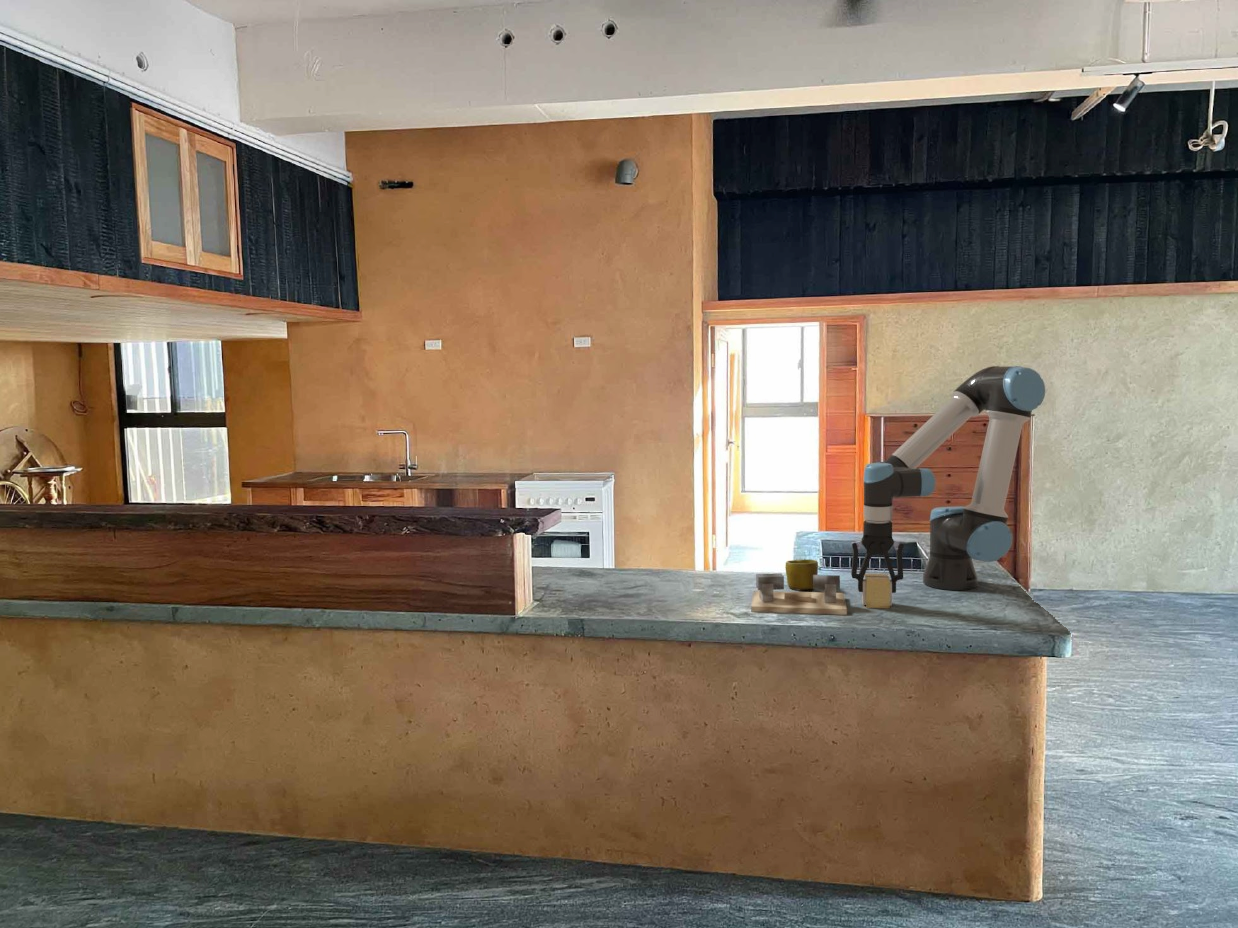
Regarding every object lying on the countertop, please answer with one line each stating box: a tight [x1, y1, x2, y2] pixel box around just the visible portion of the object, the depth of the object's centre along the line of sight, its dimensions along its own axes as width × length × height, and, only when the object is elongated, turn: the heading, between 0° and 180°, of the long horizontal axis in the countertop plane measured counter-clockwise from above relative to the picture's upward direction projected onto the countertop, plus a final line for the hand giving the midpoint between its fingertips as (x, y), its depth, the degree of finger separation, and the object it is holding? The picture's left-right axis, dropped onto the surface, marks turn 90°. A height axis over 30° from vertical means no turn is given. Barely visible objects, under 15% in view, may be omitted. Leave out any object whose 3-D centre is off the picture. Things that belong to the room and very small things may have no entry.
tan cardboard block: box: [864, 573, 891, 609], centre depth 244 cm, size 6×6×8 cm
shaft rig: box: [750, 572, 848, 616], centre depth 246 cm, size 25×16×8 cm, turn 79°
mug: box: [784, 558, 819, 591], centre depth 265 cm, size 12×10×10 cm
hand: (876, 603), depth 244 cm, fingers closed on tan cardboard block, 6 cm apart
